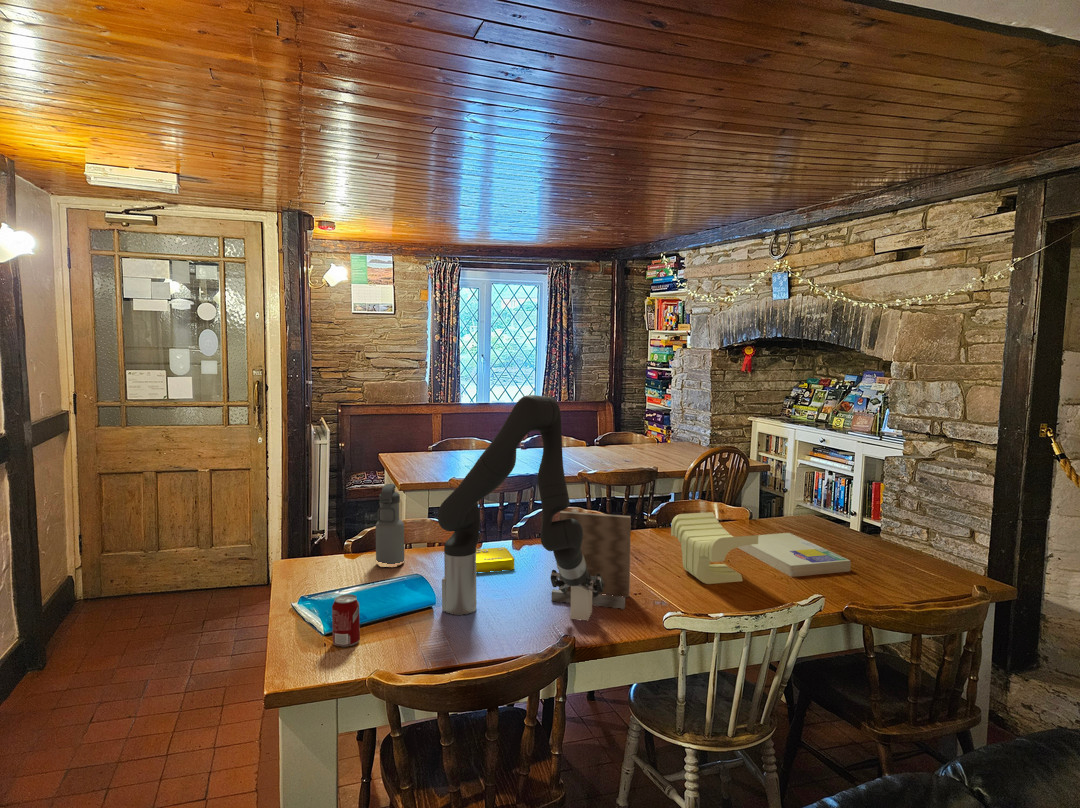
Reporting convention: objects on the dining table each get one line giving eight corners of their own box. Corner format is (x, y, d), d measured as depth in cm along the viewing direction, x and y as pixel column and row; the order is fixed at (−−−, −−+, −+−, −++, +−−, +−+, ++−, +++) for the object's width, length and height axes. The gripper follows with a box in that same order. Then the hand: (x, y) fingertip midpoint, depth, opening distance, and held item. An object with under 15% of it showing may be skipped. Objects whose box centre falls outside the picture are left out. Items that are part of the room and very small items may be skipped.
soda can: (349, 650, 172) (348, 604, 171) (327, 646, 175) (326, 600, 173) (365, 639, 178) (364, 595, 177) (344, 635, 181) (343, 591, 180)
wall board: (551, 601, 206) (552, 520, 203) (560, 588, 217) (561, 511, 214) (624, 609, 200) (625, 525, 198) (629, 595, 211) (630, 516, 209)
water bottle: (400, 569, 234) (399, 489, 231) (372, 569, 234) (371, 488, 232) (407, 559, 244) (406, 483, 242) (380, 559, 244) (378, 482, 242)
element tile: (472, 575, 230) (472, 561, 229) (465, 561, 244) (465, 548, 244) (515, 571, 234) (515, 557, 233) (506, 558, 248) (506, 545, 248)
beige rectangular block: (570, 619, 192) (570, 581, 191) (575, 611, 198) (575, 574, 197) (587, 621, 191) (588, 583, 190) (592, 613, 197) (592, 576, 196)
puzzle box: (789, 543, 269) (734, 547, 263) (789, 532, 268) (734, 535, 263) (851, 573, 234) (789, 578, 228) (852, 560, 233) (790, 565, 228)
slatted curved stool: (670, 563, 241) (671, 514, 240) (711, 560, 245) (712, 512, 243) (710, 594, 212) (712, 538, 211) (756, 590, 216) (758, 535, 214)
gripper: (600, 555, 181) (607, 582, 193) (548, 550, 185) (558, 578, 197) (596, 581, 176) (603, 607, 188) (543, 576, 180) (553, 602, 192)
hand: (580, 592), depth 192 cm, fingers open, 8 cm apart
